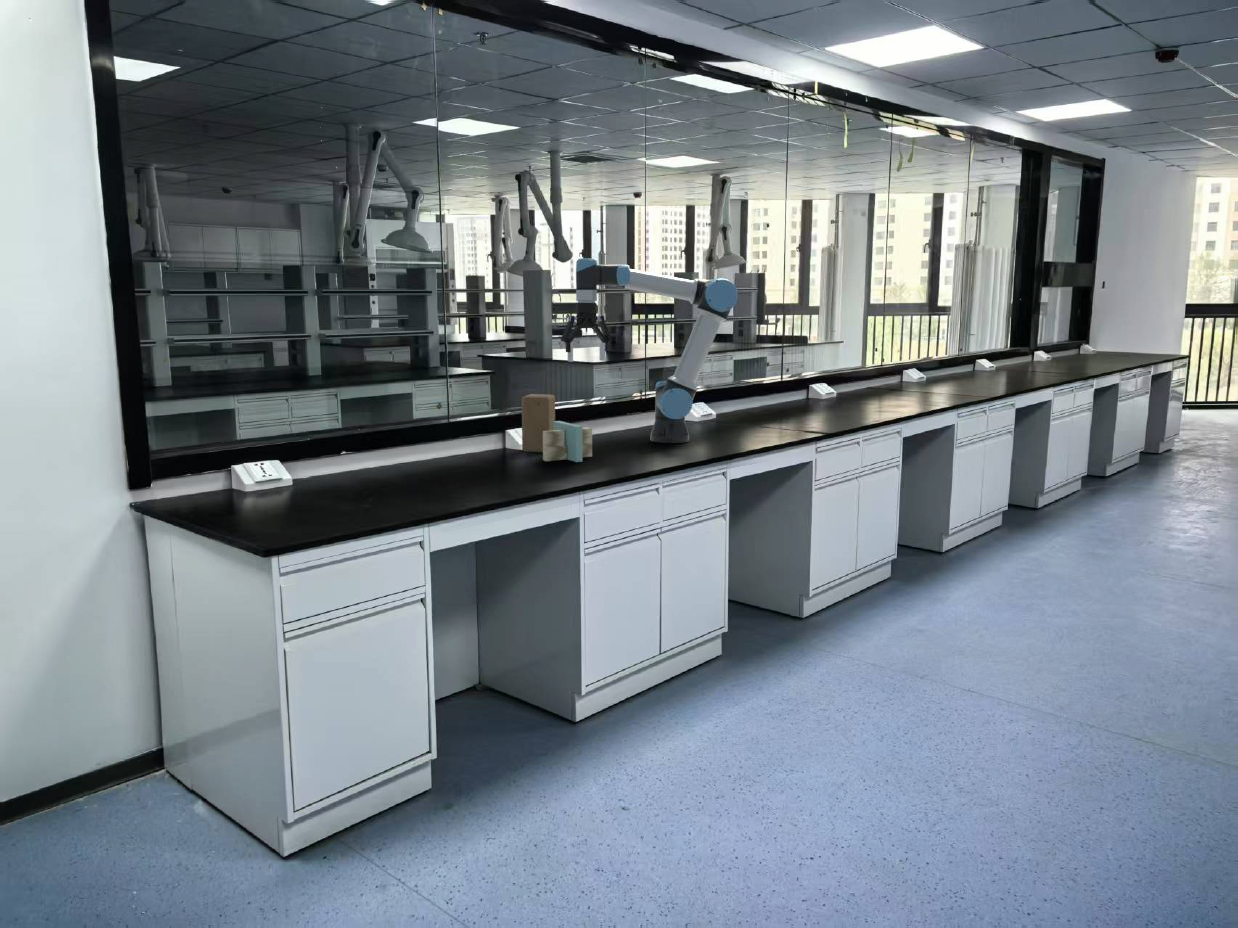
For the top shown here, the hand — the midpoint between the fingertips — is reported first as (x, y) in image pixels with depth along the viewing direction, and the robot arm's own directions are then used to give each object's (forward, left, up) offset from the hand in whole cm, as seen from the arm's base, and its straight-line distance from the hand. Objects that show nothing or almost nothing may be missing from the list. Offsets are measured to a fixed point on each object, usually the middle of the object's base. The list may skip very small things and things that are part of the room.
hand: (586, 361), depth 326 cm
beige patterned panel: (+13, +23, -32) cm, 41 cm away
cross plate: (+13, +23, -32) cm, 41 cm away
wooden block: (+19, +4, -32) cm, 37 cm away
